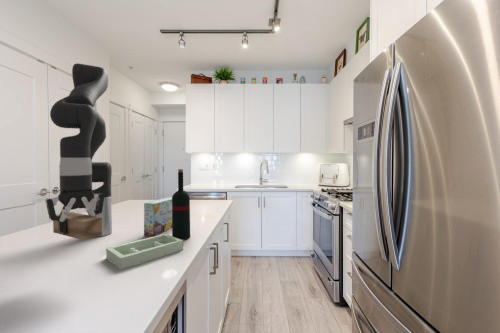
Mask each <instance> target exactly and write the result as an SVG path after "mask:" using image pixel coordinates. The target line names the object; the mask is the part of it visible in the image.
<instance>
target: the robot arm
mask: <svg viewBox="0 0 500 333" xmlns="http://www.w3.org/2000/svg"><path fill="white" fill-rule="evenodd" d="M71 74H72V75H71V76H72V82H73V89H72V90H71V91H70V93H69V94H68V95H67V96H65V97H63V98H61V99H59V100H58V101H56V102H55V103H54V104H53V105H52V106H51V108H50V113H49V115H50V119H51V122H52V123H53V124H54V125H56V127H59V128H63V129H79V133H77V134H75V135H69V136H64V137H62V138H60V141H59V157H60V159H59V160H60V161H59V166H58V167H59V168H58V169H59V194H58V196H56V197H51V198H50V197H49V198H46V199H45V200H44V201H45V205H46V210H47V213H48V217H49V218H48V219H49V220H51V221H52V222H53V221H58V231H59V232H60V233H62V235H61V236H65V234H66V221H65V218H66V216H67V214H68V213H70V211H73V210H76V209H84V210H85V211H86V214H87V215H90V216H96V217H101V218H102V235H100V236H97V237H104V236H107V235H110V234H112V233H113V225H112V224H113V223H112V222H113V220H112V218H113V216H112V215H113V214H112V212H113V211H112V209H113V208H112V207H113V206H112V175H113V174H112V173H113V172H112V165H111V163H110V162H106V161H102V162H101V161H100V162H98V161H97V162H94V161H93V158H94V156H95V154H96V153H97V151H98V150H99V148H100V147H101V146H102V145H103V144H104V142H105V140H106V139H107V127H106V122H105V119H104V118H103V116H102V115H101V114H100V112H99V111H97V109H96V108H95V105H96V103H97V101H98V100H99V98H100V97H102V96H103V95H104V94H105V92H106V91H107V89H108V86H109V75H108V71H107V70H106V69H105V68H104V67H100V66H96V65H90V64H84V63H77V62H75V63H74V64H73V66H72V71H71ZM92 161H93V162H92ZM93 183H102V185H101V186H99V187H97V188H95V189H93ZM58 202H60V203H61V205H62V208H61V209H60V212H59V214H56V210H55V206H57V204H58ZM57 215H59V216H57Z"/></svg>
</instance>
